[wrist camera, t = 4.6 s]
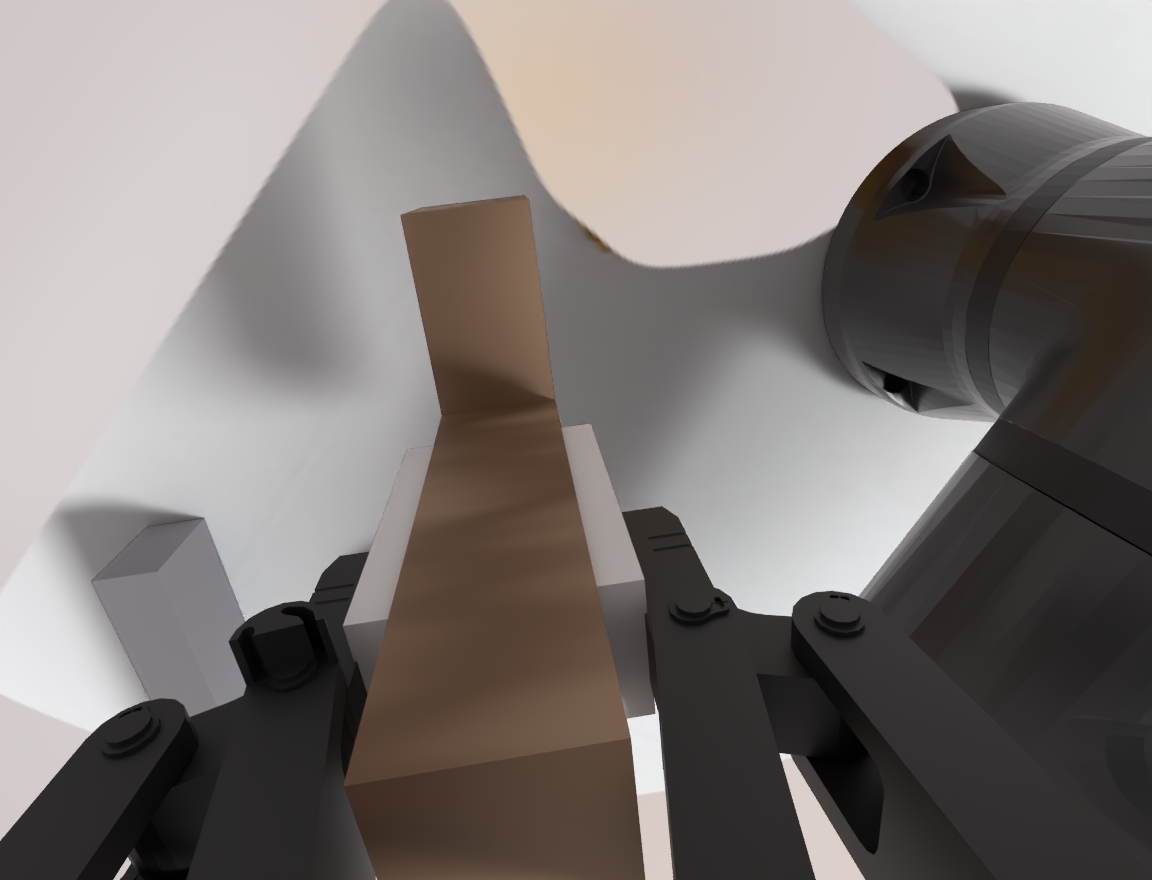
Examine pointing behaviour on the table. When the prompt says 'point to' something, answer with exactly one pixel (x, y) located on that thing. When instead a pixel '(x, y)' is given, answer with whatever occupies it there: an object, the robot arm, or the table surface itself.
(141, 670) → the block
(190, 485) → the table surface
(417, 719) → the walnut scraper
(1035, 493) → the robot arm
